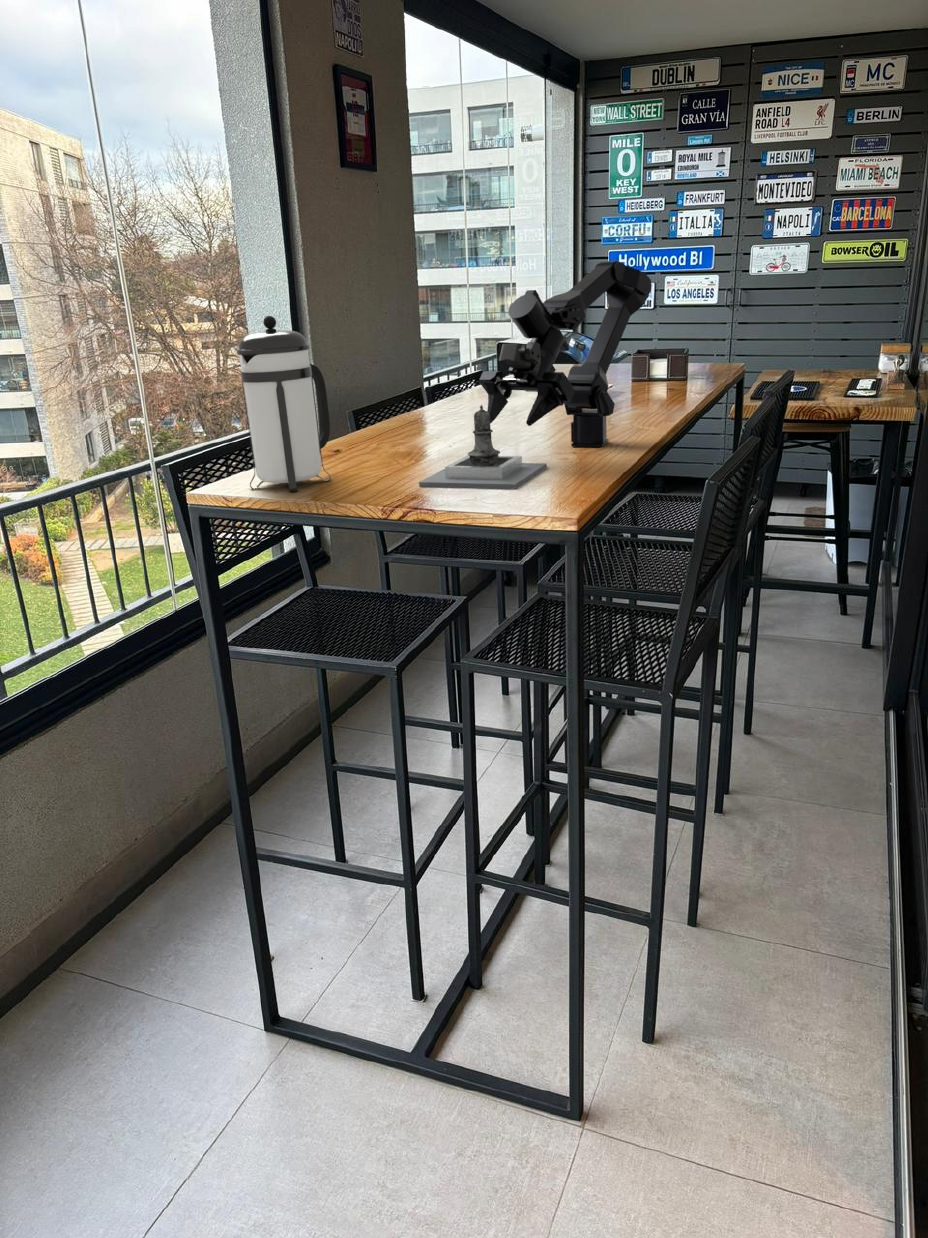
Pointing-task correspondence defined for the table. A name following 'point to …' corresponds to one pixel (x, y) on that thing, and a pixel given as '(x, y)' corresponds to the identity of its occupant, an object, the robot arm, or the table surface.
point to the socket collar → (483, 468)
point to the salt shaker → (483, 441)
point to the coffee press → (283, 406)
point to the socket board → (507, 483)
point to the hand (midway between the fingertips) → (507, 423)
